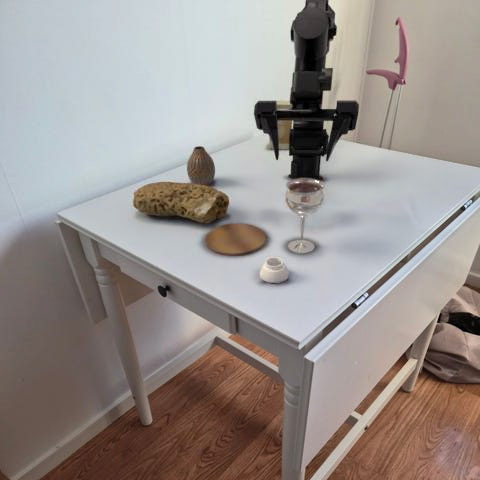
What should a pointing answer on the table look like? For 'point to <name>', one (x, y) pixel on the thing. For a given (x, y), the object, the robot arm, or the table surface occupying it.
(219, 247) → the coaster
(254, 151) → the table surface
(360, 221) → the table surface
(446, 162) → the table surface
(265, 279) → the lidless jar
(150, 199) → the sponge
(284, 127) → the cosmetic box
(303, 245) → the wineglass
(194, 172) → the vase
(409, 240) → the table surface
